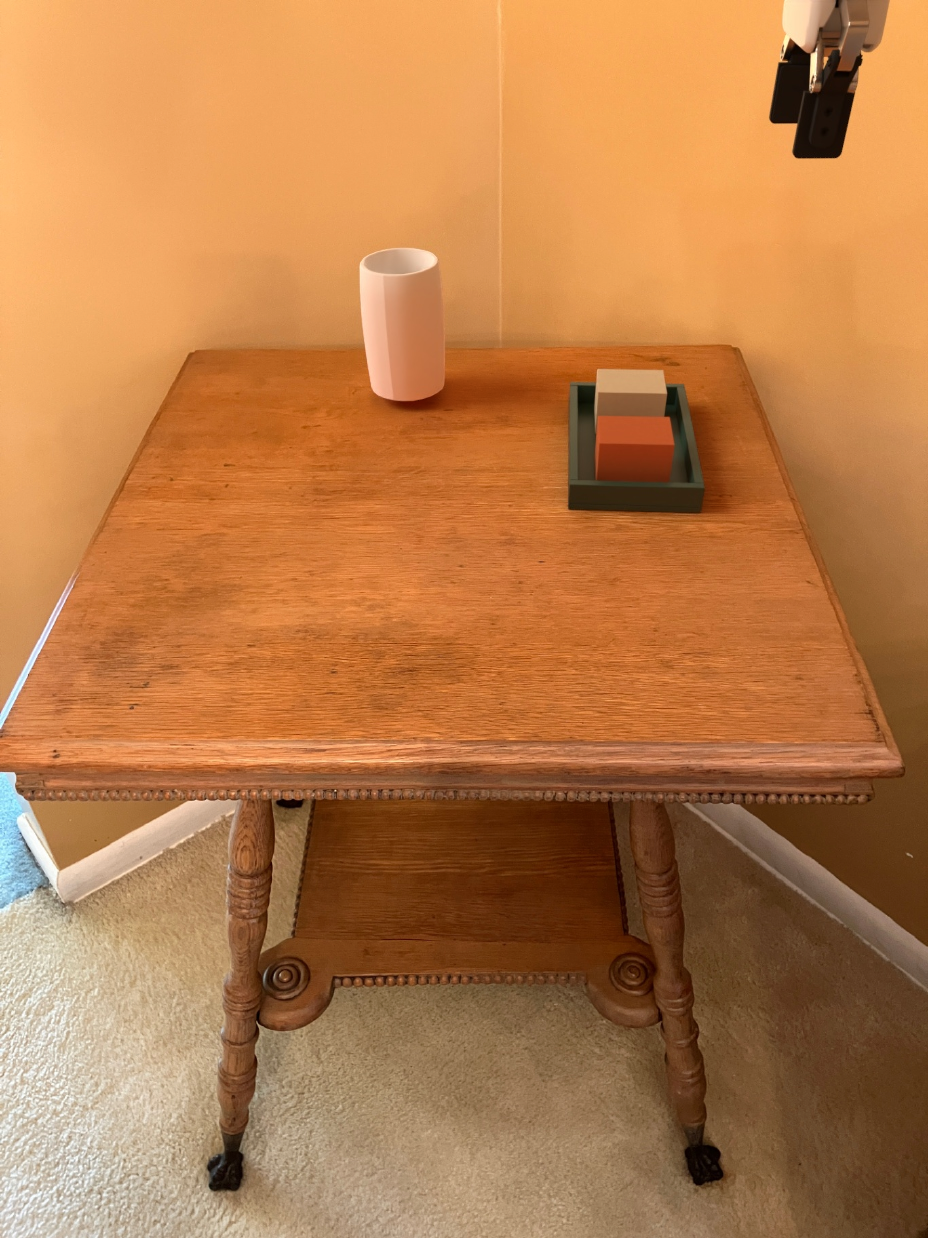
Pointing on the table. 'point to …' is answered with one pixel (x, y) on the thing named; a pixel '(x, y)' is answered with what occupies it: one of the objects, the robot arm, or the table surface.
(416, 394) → the cup
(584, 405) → the tray
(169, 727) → the table surface
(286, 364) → the table surface
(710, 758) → the table surface
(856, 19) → the robot arm
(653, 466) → the orange-red block
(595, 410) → the cream white rectangular block
